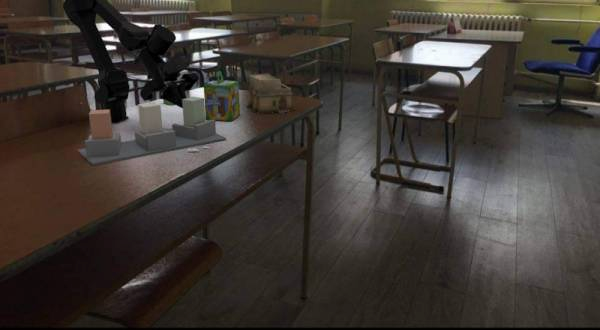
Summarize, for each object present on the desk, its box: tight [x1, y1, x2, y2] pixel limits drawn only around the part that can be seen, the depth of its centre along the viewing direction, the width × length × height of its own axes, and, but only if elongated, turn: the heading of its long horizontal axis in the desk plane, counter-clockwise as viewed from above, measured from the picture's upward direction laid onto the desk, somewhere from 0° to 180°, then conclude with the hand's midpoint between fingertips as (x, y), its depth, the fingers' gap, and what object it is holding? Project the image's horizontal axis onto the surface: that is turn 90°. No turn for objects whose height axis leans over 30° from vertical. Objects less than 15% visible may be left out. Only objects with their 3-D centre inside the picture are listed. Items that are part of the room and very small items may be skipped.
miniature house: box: [246, 73, 295, 114], centre depth 173 cm, size 15×14×11 cm
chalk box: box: [203, 70, 241, 122], centre depth 161 cm, size 9×9×15 cm
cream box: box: [137, 101, 163, 135], centre depth 133 cm, size 4×4×10 cm
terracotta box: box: [88, 109, 114, 140], centre depth 126 cm, size 4×4×10 cm
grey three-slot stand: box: [77, 120, 227, 166], centre depth 134 cm, size 14×36×5 cm, turn 128°
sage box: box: [182, 96, 206, 127], centre depth 141 cm, size 4×4×10 cm
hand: (187, 109), depth 141 cm, fingers closed, pressing on sage box
